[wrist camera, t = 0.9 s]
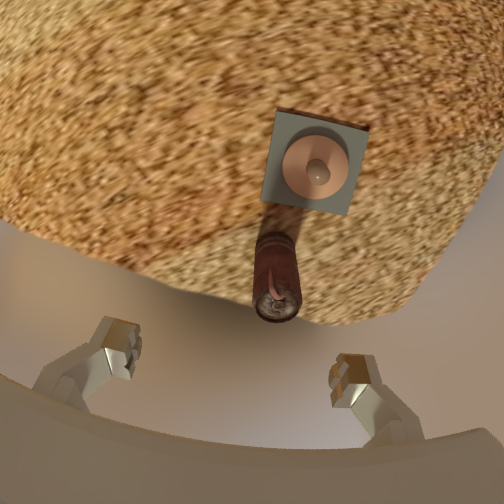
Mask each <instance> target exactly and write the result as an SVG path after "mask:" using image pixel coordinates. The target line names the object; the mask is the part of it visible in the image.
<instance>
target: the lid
mask: <svg viewBox="0 0 504 504" xmlns="http://www.w3.org/2000/svg"><path fill="white" fill-rule="evenodd" d="M348 168H349V166H348V159H347V156H346V154H345V152H344V150H343V149H342V148H341V147H340V146H339V145H338V144H337V143H336V142H335V141H334V140H332V139H331V138H329V137H326V136H323V135H318V134H312V135H306V136H303V137H301V138H299V139H297V140H296V141H294V142H293V143H292V144H291V145H290V146H289V147H288V149H287V150H286V152H285V154H284V157H283V162H282V169H283V175H284V178H285V181H286V183H287V184H288V186H289V187H290V188H291V190H293V191H294V192H295V193H296V194H298V195H300V196H302V197H304V198H308V199H322V198H326V197H329V196H331V195H333V194H334V193H336V192H337V191H338V190H339V189H340V188H341V187H342V186H343V184H344V182H345V180H346V178H347V175H348Z"/></svg>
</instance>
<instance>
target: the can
mask: <svg viewBox="0 0 504 504" xmlns="http://www.w3.org/2000/svg"><path fill="white" fill-rule="evenodd" d="M252 303H253V308H254V309H255V311H256V313H257V314H258V316H259V317H260V318H262V319H263V320H265V321H268V322H270V323H283V322H286V321H289V320H291V319H292V318H294V317H295V316H296V315H297V314H298V312H299V310H300V308H301V305H302V294H301V287H300V280H299V273H298V266H297V260H296V253H295V247H294V243H293V241H292V239H291V238H290V237H288V236H287V235H285V234H283V233H279V232H271V233H268V234H265V235H263V236H262V237H261V238H260V239H259V240H258V242H257V243H256V248H255V262H254V280H253V297H252Z"/></svg>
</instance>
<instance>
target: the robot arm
mask: <svg viewBox="0 0 504 504" xmlns="http://www.w3.org/2000/svg"><path fill="white" fill-rule="evenodd" d="M140 331H141V330H140V325H139V324H136V323H132V322H128V321H124V320H120V319H117V318H112V317H108V316H104V317H103V318H102V320H101V322H100V324H99V325H98V327H97V329H96V331H95V333H94V335H93V336H92V338H91V340H90V342H89V343H84V344H82V345H81V346H79V347H77V348H76V349H74V350H72V351H70V352H69V353H67V354H65V355H64V356H62V357H60V358H58V359H57V360H55V361H53V362H51V363H50V364H48V365H46V366H44V367H43V369H42V371H41V373H40V375H39V377H38V378H37V380H36V382H35V384H34V386H33V388H32V389H30V388H28V387H26V386H23V385H21V384H19V383H17V382H15V381H13V380H11V379H9V378H7V377H6V376H3V375H2V374H0V504H504V448H503V446H502V444H501V442H500V441H499V440H498V439H497V438H495V437H494V436H493V435H492V434H491V433H490V432H489V431H488V430H486V429H485V428H476V429H472V430H468V431H464V432H460V433H456V434H452V435H447V436H442V437H438V438H432V439H427V440H425V438H424V435H423V431H422V428H421V424H420V420H419V417H418V416H417V415H416V414H415V413H414V412H413V411H412V410H411V409H410V408H409V407H408V406H407V405H406V404H405V403H404V402H403V401H402V400H401V399H400V398H399V397H397V395H395V394H394V393H393V392H392V391H391V390H390V389H389V388H388V387H387V386H386V385H383V384H382V380H381V377H380V374H379V371H378V367H377V364H376V361H375V357H374V356H373V355H361V354H344V353H340V354H339V355H338V357H337V358H336V361H337V363H336V364H334V365H332V367H331V369H330V372H329V379H328V381H329V386H330V388H331V389H332V390H333V391H332V393H331V402H332V407H333V408H334V407H335V408H350V409H351V411H352V412H353V414H354V415H355V416H356V418H357V419H358V420H359V421H360V423H361V424H362V426H363V427H364V428H365V430H366V431H367V432H368V434H369V435H370V436H371V438H372V439H371V440H370V441H368V442H367V443H366V444H365V445H364V446H363V448H348V449H316V450H315V449H314V450H313V449H312V450H311V449H277V448H262V447H250V446H239V445H231V444H222V443H215V442H208V441H202V440H196V439H190V438H185V437H179V436H175V435H170V434H165V433H160V432H156V431H152V430H148V429H144V428H139V427H135V426H132V425H128V424H125V423H121V422H118V421H114V420H111V419H108V418H104V417H101V416H99V415H95V414H92V413H90V411H89V409H88V407H87V405H86V403H85V401H84V399H85V398H86V397H87V396H89V395H90V394H91V393H92V392H94V391H95V390H96V389H97V388H99V387H100V386H101V385H102V384H103V383H105V382H106V381H107V380H108V379H110V378H111V377H112V376H116V377H120V378H124V379H128V380H131V378H132V376H133V373H134V370H135V363H134V362H135V361H136V360H138V359H139V356H140V353H141V348H142V339H141V337H140V336H139V333H140Z"/></svg>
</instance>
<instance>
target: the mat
mask: <svg viewBox="0 0 504 504" xmlns="http://www.w3.org/2000/svg"><path fill="white" fill-rule="evenodd" d="M312 134H318V135H323V136H326V137H329V138H331V139H332V140H334V141H335V142H336V143H337V144H338V145H339V146H340V147H341V148H342V149H343V150H344V152H345V154H346V156H347V159H348V166H349V168H348V175H347V178H346V180H345V182H344V184H343V186H342V187H341V188H340V189H339V190H338V191H337V192H336V193H334V194H333V195H331V196H329V197H326V198H322V199H308V198H304V197H302V196H300V195H298V194H296V193H295V192H294V191H293V190H291V188H290V187H289V186H288V184H287V183H286V181H285V178H284V175H283V169H282V162H283V157H284V154H285V152H286V150H287V149H288V147H289V146H290V145H291V144H292V143H293V142H294V141H296V140H297V139H299V138H301V137H303V136H306V135H312ZM369 134H370V133H369V132H367V131H363V130H359V129H356V128H352V127H348V126H344V125H340V124H336V123H332V122H328V121H324V120H320V119H315V118H311V117H306V116H301V115H296V114H291V113H286V112H280V111H276V116H275V121H274V127H273V132H272V138H271V143H270V149H269V154H268V160H267V165H266V171H265V176H264V182H263V188H262V193H261V199H260V201H265V202H271V203H277V204H283V205H289V206H295V207H301V208H306V209H312V210H317V211H322V212H328V213H333V214H338V215H343V216H347V212H348V209H349V206H350V202H351V199H352V196H353V192H354V189H355V186H356V182H357V179H358V175H359V171H360V168H361V164H362V160H363V157H364V153H365V149H366V145H367V141H368V138H369Z"/></svg>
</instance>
